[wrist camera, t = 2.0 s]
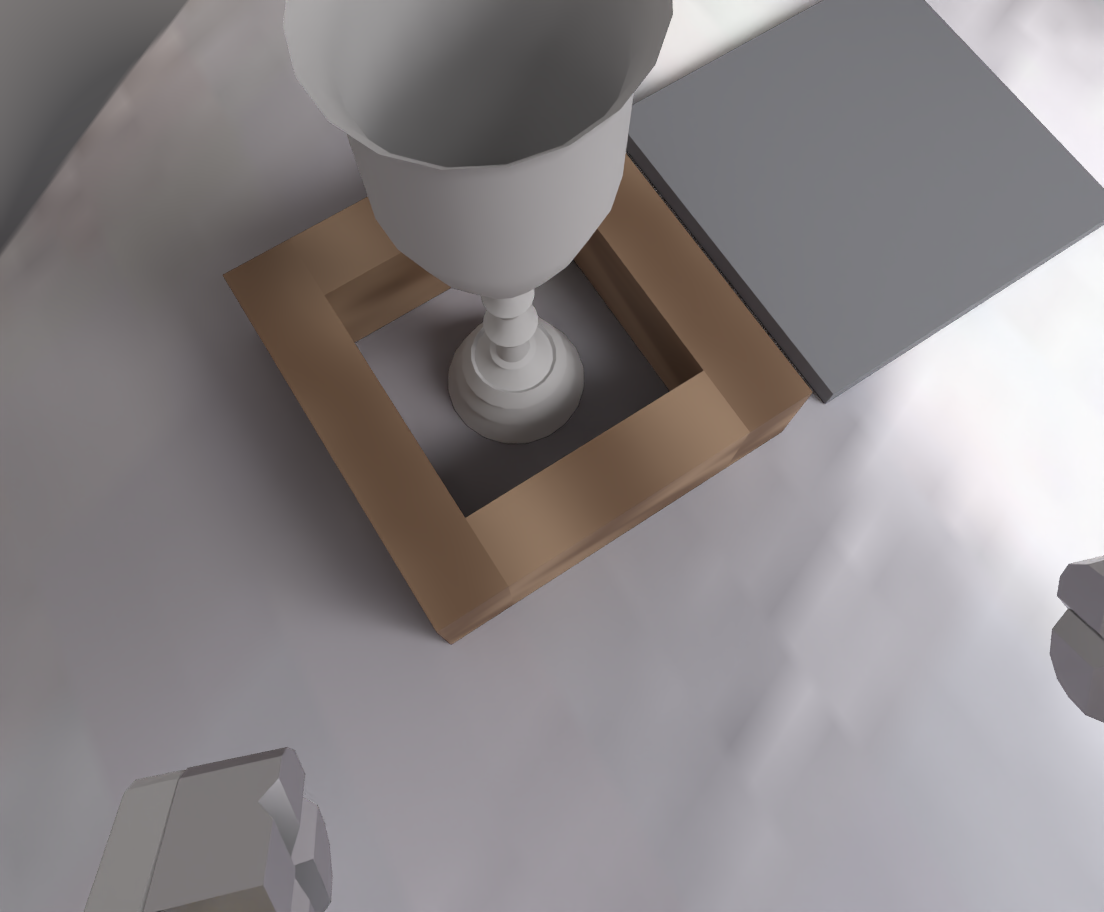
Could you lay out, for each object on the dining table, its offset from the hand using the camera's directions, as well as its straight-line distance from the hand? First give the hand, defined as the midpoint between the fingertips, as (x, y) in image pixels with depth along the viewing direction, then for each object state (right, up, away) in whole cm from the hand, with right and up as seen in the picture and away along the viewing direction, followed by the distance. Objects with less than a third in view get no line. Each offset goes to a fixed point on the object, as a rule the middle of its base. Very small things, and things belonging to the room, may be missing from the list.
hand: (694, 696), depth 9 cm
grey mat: (+11, +14, +26) cm, 31 cm away
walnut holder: (-3, +5, +24) cm, 24 cm away
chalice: (-3, +5, +24) cm, 25 cm away
